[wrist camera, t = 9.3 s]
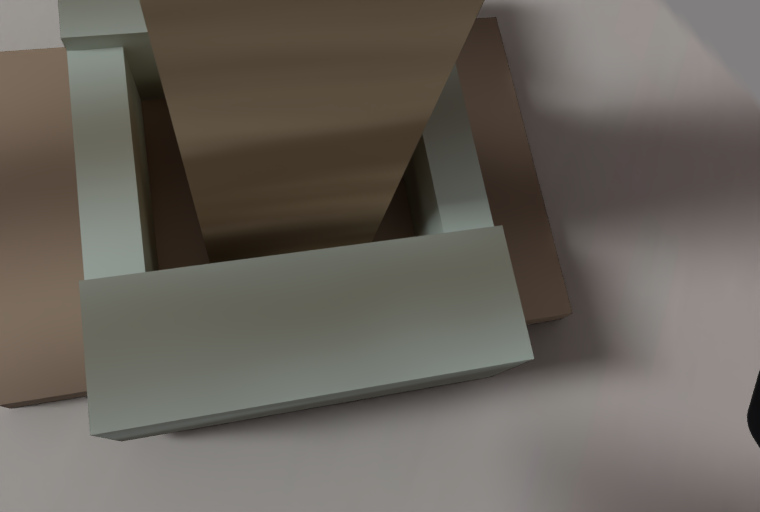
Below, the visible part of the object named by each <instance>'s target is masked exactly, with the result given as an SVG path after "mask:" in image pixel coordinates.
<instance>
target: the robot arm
mask: <svg viewBox="0 0 760 512" xmlns="http://www.w3.org/2000/svg"><path fill="white" fill-rule="evenodd" d="M747 422H748V427H749V430H750V432H751V434H752V436H753V438H754V440H755V441H756V443H757V444H758V446H759V447H760V371H759V374H758V377H757V381H756V384H755V388H754V391H753V395H752V398H751V402H750V405H749V409H748V413H747Z"/></svg>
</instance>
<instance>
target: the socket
mask: <svg viewBox="0 0 760 512" xmlns="http://www.w3.org/2000/svg"><path fill="white" fill-rule="evenodd" d="M58 8H59V21H60V35H61V40H62V42H63V44H64V46H65V47H62V48H48V49H33V50H19V51H4V52H0V406H2V407H6V408H15V407H21V406H27V405H33V404H40V403H46V402H52V401H58V400H64V399H70V398H77V397H83V396H87V398H88V411H89V425H90V435H92V436H97V437H102V438H107V439H112V440H117V441H126V440H132V439H138V438H143V437H149V436H155V435H160V434H166V433H172V432H178V431H183V430H189V429H195V428H200V427H206V426H212V425H217V424H223V423H229V422H235V421H240V420H246V419H252V418H257V417H263V416H269V415H275V414H280V413H286V412H292V411H297V410H303V409H309V408H314V407H320V406H326V405H332V404H337V403H343V402H349V401H354V400H360V399H366V398H372V397H377V396H383V395H389V394H394V393H400V392H406V391H411V390H417V389H423V388H429V387H434V386H440V385H446V384H451V383H457V382H463V381H469V380H474V379H480V378H486V377H491V376H494V375H496V374H499V373H501V372H504V371H506V370H508V369H511V368H513V367H516V366H518V365H520V364H523V363H525V362H528V361H530V360H533V359H534V355H533V351H532V347H531V343H530V339H529V334H528V330H527V326H526V325H528V324H534V323H540V322H547V321H553V320H559V319H562V318H564V317H566V316H568V315H570V314H572V310H571V306H570V302H569V298H568V294H567V290H566V286H565V283H564V279H563V275H562V271H561V267H560V263H559V259H558V255H557V252H556V248H555V244H554V240H553V236H552V232H551V228H550V224H549V221H548V217H547V213H546V209H545V205H544V201H543V197H542V193H541V189H540V186H539V182H538V178H537V174H536V170H535V166H534V162H533V158H532V155H531V151H530V147H529V143H528V139H527V135H526V131H525V127H524V124H523V120H522V116H521V112H520V108H519V104H518V100H517V96H516V93H515V89H514V85H513V81H512V77H511V73H510V69H509V65H508V62H507V58H506V54H505V50H504V46H503V42H502V38H501V34H500V30H499V27H498V23H497V19H496V17H492V18H478V19H475V21H474V23H473V26H472V28H471V30H470V32H469V34H468V36H467V39H466V41H465V43H464V45H463V47H462V49H461V51H460V54H459V56H458V58H457V60H456V62H455V64H454V66H453V69H452V71H451V73H450V75H449V77H448V79H447V81H446V84H445V86H444V88H443V90H442V92H441V94H440V97H439V99H438V101H437V103H436V105H435V107H434V109H433V112H432V114H431V116H430V118H429V120H428V122H427V124H426V127H425V129H424V131H423V133H422V135H421V137H420V139H419V142H418V144H417V146H416V148H415V150H414V152H413V155H412V157H411V159H410V161H409V163H408V165H407V167H406V170H405V172H404V174H403V176H402V178H401V180H400V182H399V185H398V187H397V189H396V191H395V193H394V195H393V197H392V200H391V202H390V204H389V206H388V208H387V210H386V212H385V215H384V217H383V219H382V221H381V223H380V225H379V228H378V230H377V232H376V234H375V236H374V238H373V240H372V242H371V243H363V244H356V245H348V246H340V247H333V248H325V249H318V250H310V251H302V252H295V253H287V254H280V255H272V256H264V257H257V258H249V259H241V260H234V261H226V262H219V263H211V264H210V261H209V257H208V254H207V250H206V246H205V242H204V239H203V235H202V231H201V228H200V224H199V220H198V217H197V213H196V209H195V205H194V202H193V198H192V194H191V191H190V187H189V183H188V179H187V176H186V172H185V168H184V165H183V161H182V157H181V154H180V150H179V146H178V142H177V139H176V135H175V131H174V128H173V124H172V120H171V116H170V113H169V109H168V105H167V102H166V98H165V94H164V90H163V87H162V83H161V79H160V76H159V72H158V68H157V65H156V61H155V57H154V53H153V50H152V46H151V42H150V39H149V35H148V31H147V27H146V24H145V20H144V16H143V13H142V9H141V5H140V2H139V0H58Z"/></svg>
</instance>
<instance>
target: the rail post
mask: <svg viewBox="0 0 760 512" xmlns="http://www.w3.org/2000/svg"><path fill="white" fill-rule="evenodd" d="M139 2H140V5H141V9H142V13H143V16H144V20H145V24H146V27H147V31H148V35H149V39H150V42H151V46H152V50H153V53H154V57H155V61H156V65H157V68H158V72H159V76H160V79H161V83H162V87H163V90H164V94H165V98H166V102H167V105H168V109H169V113H170V116H171V120H172V124H173V128H174V131H175V135H176V139H177V142H178V146H179V150H180V154H181V157H182V161H183V165H184V168H185V172H186V176H187V179H188V183H189V187H190V191H191V194H192V198H193V202H194V205H195V209H196V213H197V217H198V220H199V224H200V228H201V231H202V235H203V239H204V242H205V246H206V250H207V254H208V257H209V261H210V264H211V263H219V262H226V261H234V260H241V259H249V258H257V257H264V256H272V255H280V254H287V253H295V252H302V251H310V250H318V249H325V248H333V247H340V246H348V245H356V244H363V243H371V242H372V240H373V238H374V236H375V234H376V232H377V230H378V228H379V225H380V223H381V221H382V219H383V217H384V215H385V212H386V210H387V208H388V206H389V204H390V202H391V200H392V197H393V195H394V193H395V191H396V189H397V187H398V185H399V182H400V180H401V178H402V176H403V174H404V172H405V170H406V167H407V165H408V163H409V161H410V159H411V157H412V155H413V152H414V150H415V148H416V146H417V144H418V142H419V139H420V137H421V135H422V133H423V131H424V129H425V127H426V124H427V122H428V120H429V118H430V116H431V114H432V112H433V109H434V107H435V105H436V103H437V101H438V99H439V97H440V94H441V92H442V90H443V88H444V86H445V84H446V81H447V79H448V77H449V75H450V73H451V71H452V69H453V66H454V64H455V62H456V60H457V58H458V56H459V54H460V51H461V49H462V47H463V45H464V43H465V41H466V39H467V36H468V34H469V32H470V30H471V28H472V26H473V23H474V21H475V19H476V17H477V15H478V13H479V11H480V8H481V6H482V4H483V2H484V0H139Z"/></svg>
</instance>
